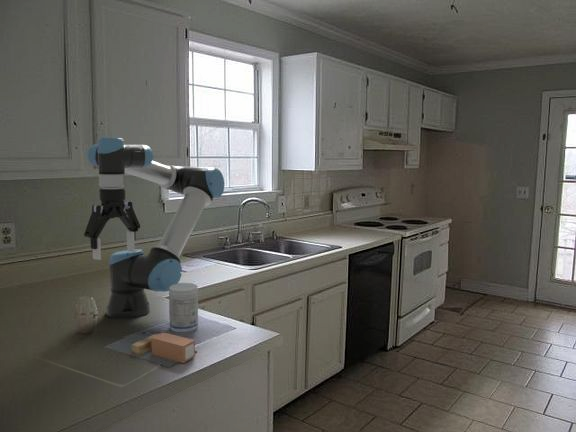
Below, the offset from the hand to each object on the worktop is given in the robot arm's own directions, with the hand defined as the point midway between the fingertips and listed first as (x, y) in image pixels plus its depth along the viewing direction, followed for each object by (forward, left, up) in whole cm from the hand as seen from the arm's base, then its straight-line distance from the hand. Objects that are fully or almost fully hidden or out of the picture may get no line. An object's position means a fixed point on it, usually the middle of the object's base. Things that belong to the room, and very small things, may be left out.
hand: (114, 255), depth 152 cm
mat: (+3, +17, -27) cm, 32 cm away
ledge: (+3, +16, -27) cm, 31 cm away
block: (+3, +20, -24) cm, 31 cm away
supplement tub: (-16, +14, -27) cm, 34 cm away
